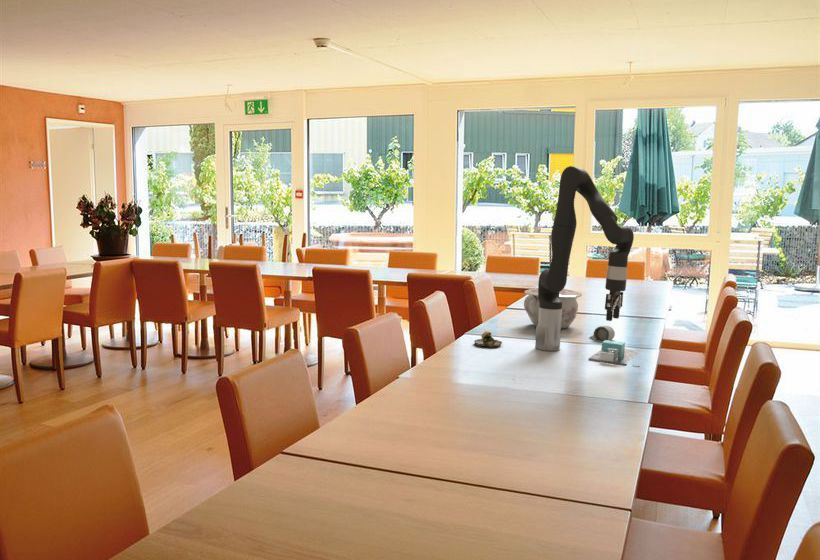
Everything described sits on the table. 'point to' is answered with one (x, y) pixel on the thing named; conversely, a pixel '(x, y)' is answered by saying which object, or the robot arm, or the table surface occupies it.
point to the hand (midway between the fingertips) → (612, 319)
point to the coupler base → (613, 356)
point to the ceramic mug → (603, 333)
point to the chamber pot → (567, 306)
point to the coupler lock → (614, 347)
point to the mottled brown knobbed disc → (487, 340)
